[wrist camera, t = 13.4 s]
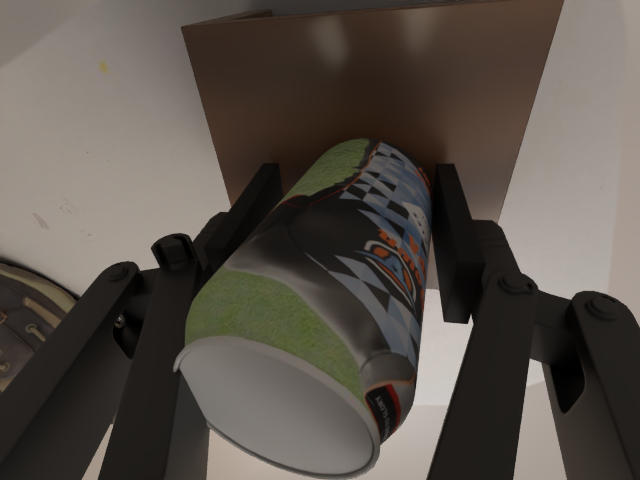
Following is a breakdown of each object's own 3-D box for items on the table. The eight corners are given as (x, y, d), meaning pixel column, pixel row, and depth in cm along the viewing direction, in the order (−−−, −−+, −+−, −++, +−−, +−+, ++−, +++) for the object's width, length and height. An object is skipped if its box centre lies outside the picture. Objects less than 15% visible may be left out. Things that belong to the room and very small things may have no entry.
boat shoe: (-54, 227, 38) (-180, 297, 30) (182, 341, 44) (133, 425, 36) (-42, 278, 44) (-143, 347, 36) (162, 371, 51) (117, 448, 42)
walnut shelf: (247, 11, 20) (179, 26, 13) (504, -12, 17) (566, -5, 11) (282, 211, 28) (250, 276, 22) (457, 216, 26) (477, 292, 19)
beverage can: (405, 250, 18) (415, 527, 9) (276, 216, 18) (157, 456, 9) (455, 144, 14) (566, 446, 5) (292, 101, 15) (109, 321, 5)
